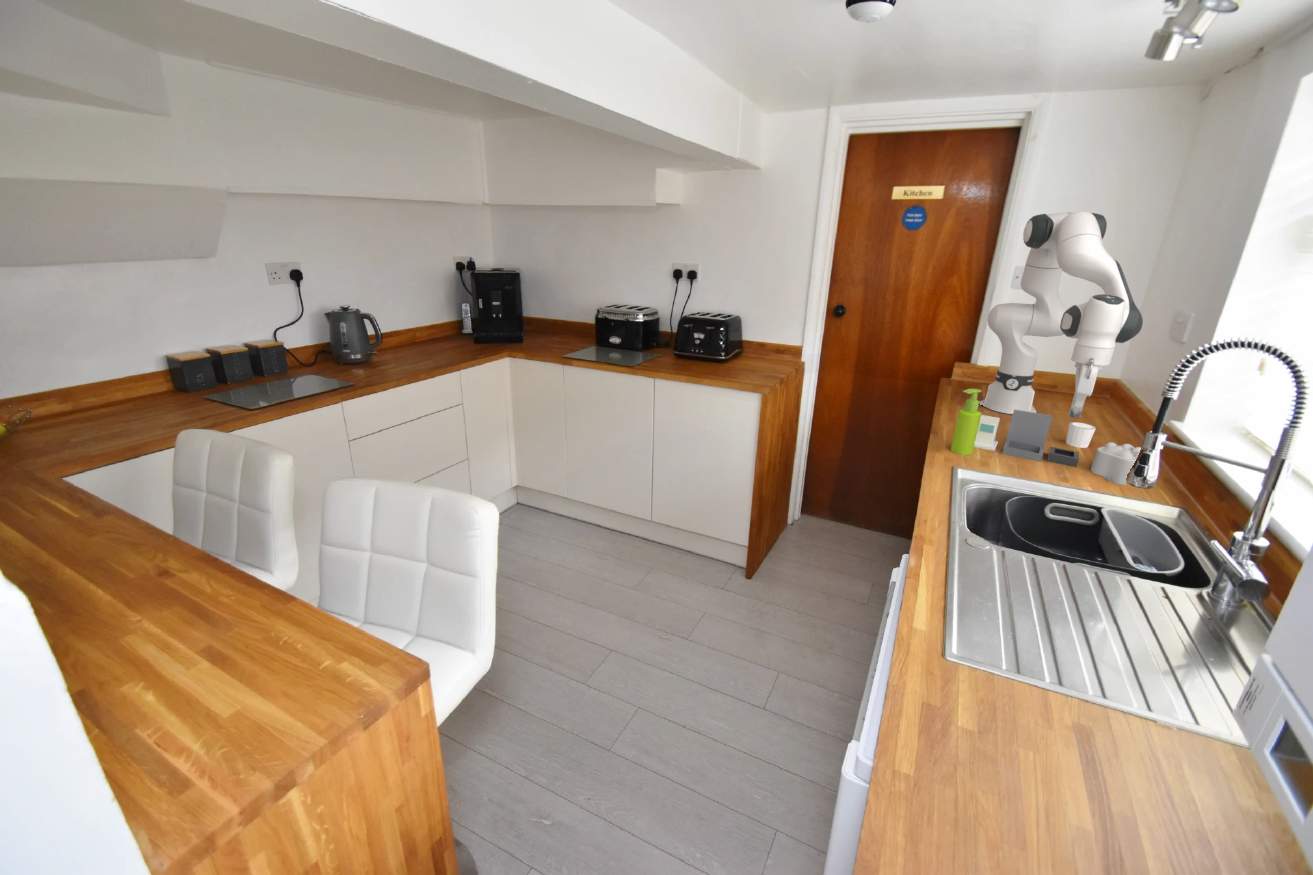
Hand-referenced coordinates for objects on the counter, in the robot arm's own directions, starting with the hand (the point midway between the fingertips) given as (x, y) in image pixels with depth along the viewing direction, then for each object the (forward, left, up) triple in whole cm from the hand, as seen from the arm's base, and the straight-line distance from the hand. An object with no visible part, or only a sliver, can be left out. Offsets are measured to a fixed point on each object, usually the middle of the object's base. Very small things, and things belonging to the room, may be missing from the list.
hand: (1077, 404), depth 162 cm
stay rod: (0, 0, -4) cm, 4 cm away
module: (0, -20, -17) cm, 26 cm away
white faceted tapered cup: (-19, +4, -18) cm, 27 cm away
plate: (0, -20, -18) cm, 27 cm away
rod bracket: (0, 0, -18) cm, 18 cm away
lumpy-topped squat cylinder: (+1, +13, -18) cm, 22 cm away
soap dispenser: (+11, -25, -18) cm, 33 cm away
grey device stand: (0, -10, -18) cm, 20 cm away
